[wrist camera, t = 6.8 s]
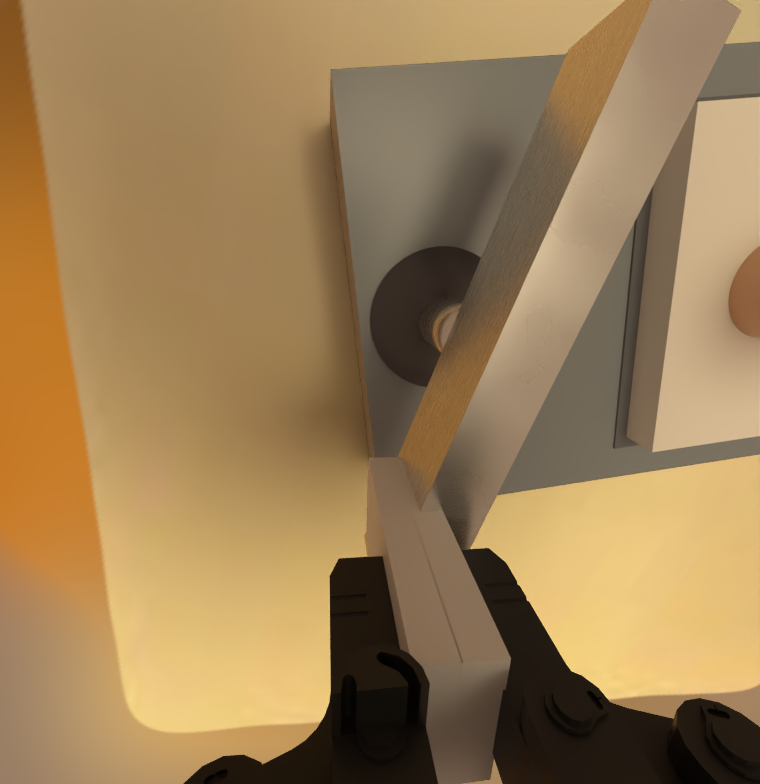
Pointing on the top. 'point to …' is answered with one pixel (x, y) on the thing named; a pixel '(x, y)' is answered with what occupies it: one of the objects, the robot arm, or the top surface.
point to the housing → (466, 246)
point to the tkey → (554, 246)
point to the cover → (702, 286)
